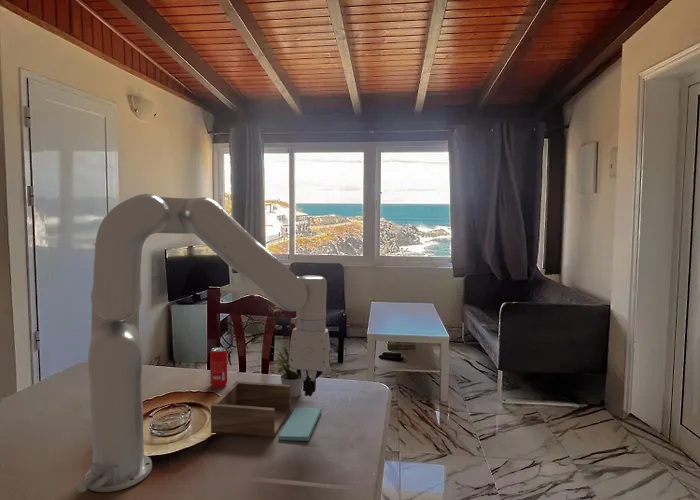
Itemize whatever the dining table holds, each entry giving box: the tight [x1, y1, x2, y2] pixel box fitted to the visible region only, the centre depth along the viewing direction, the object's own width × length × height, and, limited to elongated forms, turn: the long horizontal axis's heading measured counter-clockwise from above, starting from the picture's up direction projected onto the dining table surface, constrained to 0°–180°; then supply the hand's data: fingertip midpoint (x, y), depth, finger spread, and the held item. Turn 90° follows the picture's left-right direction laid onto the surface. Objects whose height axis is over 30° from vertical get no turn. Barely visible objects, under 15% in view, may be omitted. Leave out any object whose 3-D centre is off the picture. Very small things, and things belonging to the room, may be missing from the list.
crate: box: [210, 380, 292, 441], centre depth 115 cm, size 16×16×8 cm
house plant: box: [270, 344, 303, 398], centre depth 133 cm, size 14×14×16 cm
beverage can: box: [209, 346, 228, 389], centre depth 140 cm, size 5×5×12 cm
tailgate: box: [278, 407, 322, 442], centre depth 113 cm, size 16×1×7 cm
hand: (309, 393), depth 112 cm, fingers closed
